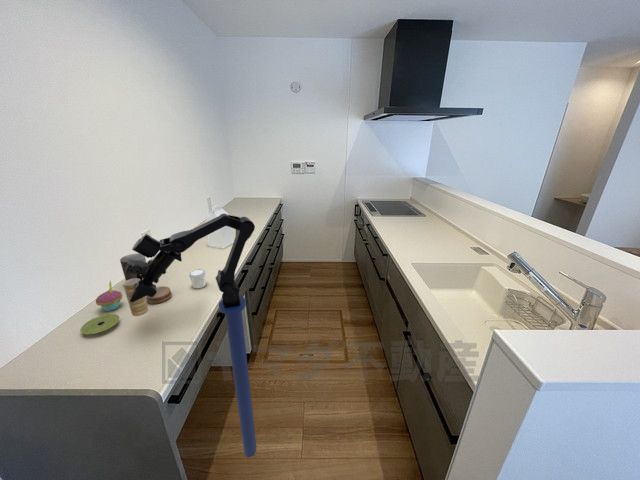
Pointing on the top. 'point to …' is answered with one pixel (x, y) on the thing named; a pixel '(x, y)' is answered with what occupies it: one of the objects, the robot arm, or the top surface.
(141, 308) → the chip column
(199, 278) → the white short cylinder
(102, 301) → the cupcake
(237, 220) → the robot arm
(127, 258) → the pillar candle
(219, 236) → the milk
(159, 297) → the chip pile
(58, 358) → the top surface
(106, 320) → the green disc
